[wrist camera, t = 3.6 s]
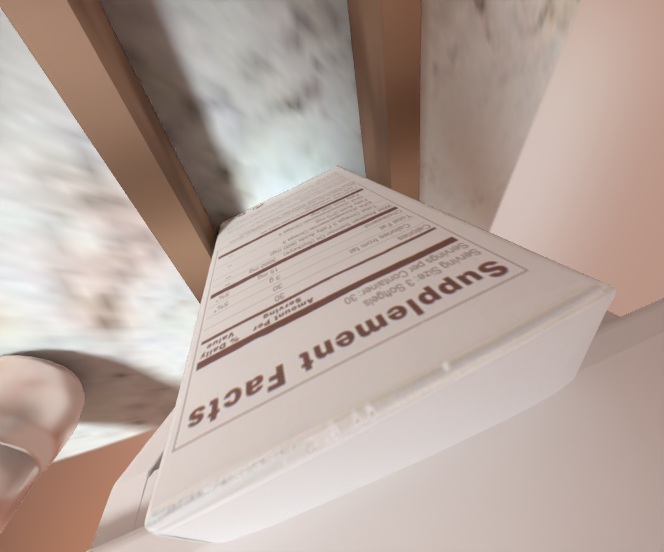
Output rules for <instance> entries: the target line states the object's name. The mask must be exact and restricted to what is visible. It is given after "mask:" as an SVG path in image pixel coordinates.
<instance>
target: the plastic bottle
mask: <svg viewBox="0 0 664 552" xmlns="http://www.w3.org/2000/svg"><path fill="white" fill-rule="evenodd" d="M84 403H85V394H84V390H83V387H82V384H81V382H80V380H79V378H78V377H77V376H76V375H75V374H74V373H73V372H72V371H71V370H69V369H68V368H66V367H64V366H62V365H60V364H58V363H56V362H53V361H49V360H46V359H42V358H37V357H32V356H20V355H6V356H0V534H1V532H2V531H3V529H4V528H5V526H6V525H7V523H8V522H9V520H10V519H11V517H12V516H13V514H14V513H15V511H16V510H17V508H18V507H19V505H20V504H21V502H22V501H23V499H24V498H25V496H26V495H27V493H28V492H29V490H30V489H31V487H32V486H33V484H34V483H35V481H36V480H37V478H39V477H40V476H41V475H42V474H43V473H44V471H45V470H46V469H47V468H48V466H49V465H50V464H51V463H52V462H53V460H54V459H55V458H56V456H57V455H58V454H59V452H60V451H61V449H62V448H63V446H64V445H65V444H66V442H67V441H68V439H69V438H70V437H71V435H72V434H73V432H74V430H75V429H76V427H77V424H78V421H79V418H80V416H81V413H82V410H83V407H84Z"/></svg>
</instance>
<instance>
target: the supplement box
mask: <svg viewBox="0 0 664 552" xmlns="http://www.w3.org/2000/svg"><path fill="white" fill-rule="evenodd" d="M615 295H616V292H615V288H614V287H613V286H611V285H609V284H607V283H604V282H601V281H599V280H596V279H594V278H591V277H589V276H587V275H584V274H582V273H580V272H578V271H576V270H573V269H571V268H569V267H566V266H564V265H562V264H560V263H557V262H555V261H553V260H550V259H548V258H546V257H544V256H541V255H539V254H537V253H535V252H532V251H530V250H528V249H526V248H523V247H521V246H519V245H517V244H515V243H512V242H510V241H508V240H506V239H503V238H501V237H499V236H496V235H494V234H492V233H489V232H487V231H485V230H482V229H480V228H478V227H475V226H473V225H471V224H469V223H466V222H464V221H462V220H460V219H458V218H455V217H453V216H451V215H449V214H446V213H444V212H442V211H440V210H437V209H435V208H433V207H430V206H428V205H426V204H424V203H421V202H419V201H417V200H414V199H412V198H410V197H407V196H405V195H403V194H401V193H398V192H396V191H394V190H392V189H389V188H387V187H385V186H382V185H380V184H377V183H375V182H373V181H371V180H369V179H367V178H364V177H362V176H360V175H357V174H355V173H353V172H351V171H348V170H346V169H344V168H341V167H339V166H336V167H334V168H332V169H330V170H328V171H326V172H324V173H322V174H320V175H318V176H316V177H314V178H312V179H310V180H308V181H306V182H304V183H302V184H300V185H298V186H296V187H294V188H292V189H290V190H287V191H285V192H283V193H281V194H279V195H277V196H275V197H273V198H271V199H269V200H267V201H265V202H263V203H260V204H258V205H256V206H254V207H252V208H250V209H248V210H246V211H244V212H242V213H240V214H238V215H236V216H234V217H232V218H230V219H228V220H226V221H224V222H222V223H221V225H220V229H219V233H218V237H217V240H216V244H215V248H214V253H213V256H212V261H211V264H210V268H209V272H208V276H207V280H206V285H205V288H204V292H203V296H202V300H201V304H200V309H199V313H198V316H197V321H196V325H195V329H194V333H193V337H192V341H191V345H190V349H189V353H188V357H187V361H186V365H185V369H184V373H183V377H182V381H181V385H180V389H179V393H178V397H177V401H176V405H175V409H174V413H173V417H172V421H171V425H170V429H169V433H168V437H167V441H166V445H165V448H164V452H163V456H162V460H161V463H160V467H159V471H158V474H157V478H156V481H155V485H154V488H153V492H152V495H151V499H150V503H149V507H148V510H147V514H146V518H145V526H144V528H145V529H146V530H147V531H148V532H149V533H150V534H153V535H156V536H160V537H165V538H174V539H180V540H186V541H192V542H200V543H210V542H217V543H223V542H226V541H230V540H233V539H236V538H239V537H241V536H244V535H247V534H250V533H252V532H255V531H258V530H261V529H263V528H266V527H269V526H272V525H274V524H277V523H279V522H281V521H284V520H286V519H288V518H291V517H293V516H295V515H298V514H300V513H302V512H305V511H307V510H309V509H312V508H314V507H316V506H319V505H321V504H323V503H326V502H328V501H330V500H333V499H335V498H337V497H339V496H342V495H344V494H346V493H348V492H351V491H353V490H355V489H357V488H360V487H362V486H364V485H367V484H369V483H371V482H373V481H376V480H378V479H380V478H382V477H385V476H387V475H389V474H391V473H394V472H396V471H398V470H400V469H403V468H405V467H407V466H409V465H412V464H414V463H416V462H418V461H421V460H423V459H425V458H427V457H429V456H431V455H433V454H435V453H437V452H439V451H442V450H444V449H446V448H448V447H450V446H452V445H454V444H456V443H458V442H460V441H463V440H465V439H467V438H469V437H471V436H473V435H475V434H477V433H479V432H481V431H483V430H486V429H488V428H490V427H492V426H494V425H496V424H498V423H500V422H502V421H504V420H507V419H509V418H511V417H513V416H515V415H516V414H518V413H520V412H522V411H524V410H526V409H528V408H530V407H532V406H533V405H535V404H537V403H539V402H541V401H543V400H545V399H546V398H548V397H550V396H551V395H553V394H555V393H556V392H558V391H560V390H561V389H562V388H563V387H565V386H566V385H567V384H569V383H570V382H571V381H573V380H574V379H575V377H576V375H577V372H578V370H579V368H580V366H581V364H582V361H583V359H584V357H585V355H586V353H587V350H588V348H589V346H590V344H591V342H592V340H593V338H594V336H595V334H596V332H597V330H598V328H599V326H600V324H601V321H602V319H603V317H604V315H605V313H606V311H607V309H608V307H609V305H610V303H611V302H612V300H613V298H614V296H615Z"/></svg>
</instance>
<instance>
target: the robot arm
mask: <svg viewBox="0 0 664 552" xmlns="http://www.w3.org/2000/svg"><path fill="white" fill-rule="evenodd" d="M174 409H175V408H174ZM174 409H173V410H172V411H171V413H170V414H169V415H168V417H167V418H166V419H165V420H164V422H163V423H162V424H161V426H160V427H159V428H158V429H157V431H156V432H155V433H154V434H153V436H152V437H151V438H150V440H149V441H148V442H147V443H146V445H145V446H144V447H143V449H142V450H141V451H140V452H139V454H138V455H137V456H136V458H135V459H134V460H133V461H132V463H131V464H130V465H129V466H128V468H127V469H126V470H125V472H124V473H123V474H122V475H121V477H120V478H119V479H118V481H117V482H116V483H115V484H114V486H113V489H112V491H111V494H110V496H109V499H108V502H107V505H106V507H105V510H104V513H103V516H102V518H101V521H100V524H99V526H98V529H97V532H96V535H95V537H94V540H93V543H92V546H91V549H90V550H88V551H86V552H664V298H662V299H660V300H658V301H655V302H653V303H651V304H649V305H646V306H644V307H642V308H640V309H638V310H635V311H633V312H630V313H628V314H626V315H624V316H622V317H619V316H618V315H616V314H613V313H612V312H609V311H608V310H607V311H606V313H605V315H604V317H603V319H602V321H601V324H600V326H599V328H598V330H597V332H596V334H595V336H594V338H593V340H592V342H591V344H590V346H589V348H588V350H587V353H586V355H585V357H584V359H583V361H582V364H581V366H580V368H579V370H578V372H577V375H576V377H575V379H574V380H573V381H571V382H570V383H569V384H567V385H566V386H565V387H563V388H562V389H561V390H560V391H558V392H556V393H555V394H553V395H551V396H550V397H548V398H546V399H545V400H543V401H541V402H539V403H537V404H535V405H533V406H532V407H530V408H528V409H526V410H524V411H522V412H520V413H518V414H516V415H515V416H513V417H511V418H509V419H507V420H504V421H502V422H500V423H498V424H496V425H494V426H492V427H490V428H488V429H486V430H483V431H481V432H479V433H477V434H475V435H473V436H471V437H469V438H467V439H465V440H463V441H460V442H458V443H456V444H454V445H452V446H450V447H448V448H446V449H444V450H442V451H439V452H437V453H435V454H433V455H431V456H429V457H427V458H425V459H423V460H421V461H418V462H416V463H414V464H412V465H409V466H407V467H405V468H403V469H400V470H398V471H396V472H394V473H391V474H389V475H387V476H385V477H382V478H380V479H378V480H376V481H373V482H371V483H369V484H367V485H364V486H362V487H360V488H357V489H355V490H353V491H351V492H348V493H346V494H344V495H342V496H339V497H337V498H335V499H333V500H330V501H328V502H326V503H323V504H321V505H319V506H316V507H314V508H312V509H309V510H307V511H305V512H302V513H300V514H298V515H295V516H293V517H291V518H288V519H286V520H284V521H281V522H279V523H277V524H274V525H272V526H269V527H266V528H263V529H261V530H258V531H255V532H252V533H250V534H247V535H244V536H241V537H239V538H236V539H233V540H230V541H226V542H223V543H217V542H210V543H200V542H192V541H186V540H180V539H174V538H165V537H160V536H156V535H153V534H150V533H149V532H148V531H147V530H146V529H145V528H144V526H145V518H146V514H147V510H148V507H149V503H150V499H151V495H152V492H153V488H154V485H155V481H156V478H157V474H158V471H159V467H160V463H161V460H162V456H163V452H164V448H165V445H166V441H167V437H168V433H169V429H170V425H171V421H172V417H173V413H174Z"/></svg>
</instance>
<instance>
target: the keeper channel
mask: <svg viewBox="0 0 664 552" xmlns="http://www.w3.org/2000/svg"><path fill="white" fill-rule="evenodd" d="M347 2H348V12H349V21H350V30H351V40H352V49H353V58H354V68H355V77H356V86H357V96H358V105H359V114H360V124H361V133H362V143H363V152H364V161H365V171H366V178H367V179H369V180H371V181H373V182H375V183H377V184H380V185H382V186H385V187H387V188H389V189H392V190H394V191H396V192H398V193H401V194H403V195H405V196H407V197H410V198H412V199H414V200H417V201H419V137H420V53H421V0H347ZM0 7H1V9H2V10H3V12H4V13H5V15H6V16H7V17H8V19H9V20H10V22H11V23H12V25H13V26H14V28H15V29H16V31H17V32H18V34H19V35H20V37H21V38H22V40H23V41H24V43H25V44H26V46H27V47H28V49H29V50H30V52H31V53H32V55H33V56H34V58H35V59H36V61H37V62H38V64H39V65H40V67H41V68H42V70H43V71H44V72H45V74H46V75H47V77H48V78H49V80H50V81H51V83H52V84H53V86H54V87H55V89H56V90H57V92H58V93H59V95H60V96H61V98H62V99H63V101H64V102H65V104H66V105H67V107H68V108H69V110H70V111H71V113H72V114H73V116H74V117H75V119H76V120H77V122H78V123H79V125H80V126H81V128H82V129H83V130H84V132H85V133H86V135H87V136H88V138H89V139H90V141H91V142H92V144H93V145H94V147H95V148H96V150H97V151H98V153H99V154H100V156H101V157H102V159H103V160H104V162H105V163H106V165H107V166H108V168H109V169H110V171H111V172H112V174H113V175H114V177H115V178H116V180H117V181H118V183H119V184H120V185H121V187H122V188H123V190H124V191H125V193H126V194H127V196H128V197H129V199H130V200H131V202H132V203H133V205H134V206H135V208H136V209H137V211H138V212H139V214H140V215H141V217H142V218H143V220H144V221H145V223H146V224H147V226H148V227H149V229H150V230H151V232H152V233H153V235H154V236H155V238H156V239H157V241H158V242H159V243H160V245H161V246H162V248H163V249H164V251H165V252H166V254H167V255H168V257H169V258H170V260H171V261H172V263H173V264H174V266H175V267H176V269H177V270H178V272H179V273H180V275H181V276H182V278H183V279H184V281H185V282H186V284H187V285H188V287H189V288H190V290H191V291H192V293H193V294H194V296H195V297H196V298H197V300H198V301H199V303H200V304H201V300H202V296H203V292H204V288H205V285H206V280H207V276H208V272H209V268H210V264H211V261H212V256H213V253H214V248H215V244H216V240H217V237H218V235H217V233H216V231H215V229H214V227H213V225H212V223H211V221H210V219H209V218H208V216H207V214H206V212H205V210H204V208H203V206H202V204H201V202H200V200H199V198H198V196H197V194H196V192H195V190H194V188H193V186H192V184H191V182H190V180H189V178H188V176H187V174H186V172H185V170H184V168H183V166H182V164H181V162H180V160H179V158H178V156H177V155H176V153H175V151H174V149H173V147H172V145H171V143H170V141H169V139H168V137H167V135H166V133H165V131H164V129H163V127H162V125H161V123H160V121H159V119H158V117H157V115H156V113H155V111H154V109H153V107H152V105H151V103H150V101H149V99H148V97H147V95H146V94H145V92H144V90H143V88H142V86H141V84H140V82H139V80H138V78H137V76H136V74H135V72H134V70H133V68H132V66H131V64H130V62H129V60H128V58H127V56H126V54H125V52H124V50H123V48H122V46H121V44H120V42H119V40H118V38H117V36H116V34H115V32H114V31H113V29H112V27H111V25H110V23H109V21H108V19H107V17H106V15H105V13H104V11H103V9H102V7H101V5H100V3H99V1H98V0H0Z"/></svg>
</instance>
